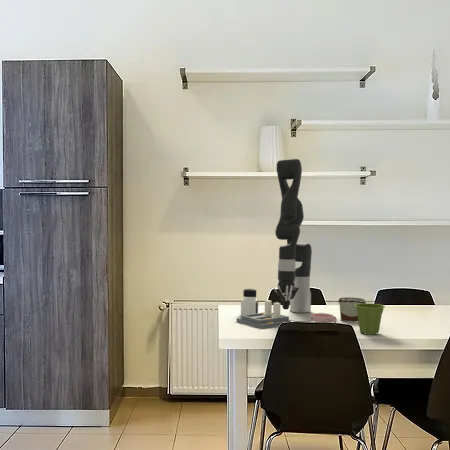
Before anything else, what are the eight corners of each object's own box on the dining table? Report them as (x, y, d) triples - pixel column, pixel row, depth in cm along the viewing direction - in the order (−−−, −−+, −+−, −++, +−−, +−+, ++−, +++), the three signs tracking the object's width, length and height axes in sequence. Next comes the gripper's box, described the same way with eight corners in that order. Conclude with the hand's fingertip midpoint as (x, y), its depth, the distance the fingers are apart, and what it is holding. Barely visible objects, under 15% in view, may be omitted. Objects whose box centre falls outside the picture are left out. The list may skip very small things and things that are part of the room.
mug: (318, 332, 227) (318, 318, 227) (305, 327, 236) (305, 313, 236) (343, 330, 231) (343, 316, 231) (329, 326, 241) (330, 312, 240)
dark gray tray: (268, 317, 256) (268, 310, 256) (293, 324, 243) (294, 316, 243) (236, 321, 246) (236, 314, 246) (261, 328, 232) (261, 320, 232)
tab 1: (269, 315, 252) (269, 299, 252) (273, 316, 250) (273, 300, 250) (262, 316, 250) (262, 300, 250) (266, 317, 247) (267, 301, 247)
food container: (367, 320, 255) (367, 298, 255) (365, 322, 249) (366, 300, 249) (339, 318, 259) (339, 296, 259) (337, 320, 253) (338, 298, 253)
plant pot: (379, 330, 233) (379, 303, 233) (388, 336, 222) (388, 308, 221) (350, 330, 233) (351, 302, 233) (358, 336, 221) (359, 307, 221)
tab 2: (277, 318, 246) (278, 302, 246) (282, 319, 243) (282, 303, 243) (270, 319, 244) (271, 302, 243) (275, 320, 241) (275, 304, 241)
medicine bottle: (255, 316, 259) (256, 290, 258) (240, 315, 260) (241, 289, 260) (258, 313, 266) (258, 288, 265) (243, 313, 267) (243, 287, 267)
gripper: (292, 268, 253) (291, 306, 253) (269, 269, 245) (268, 309, 246) (303, 269, 247) (302, 309, 247) (280, 270, 239) (279, 311, 240)
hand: (285, 309), depth 246 cm, fingers closed
